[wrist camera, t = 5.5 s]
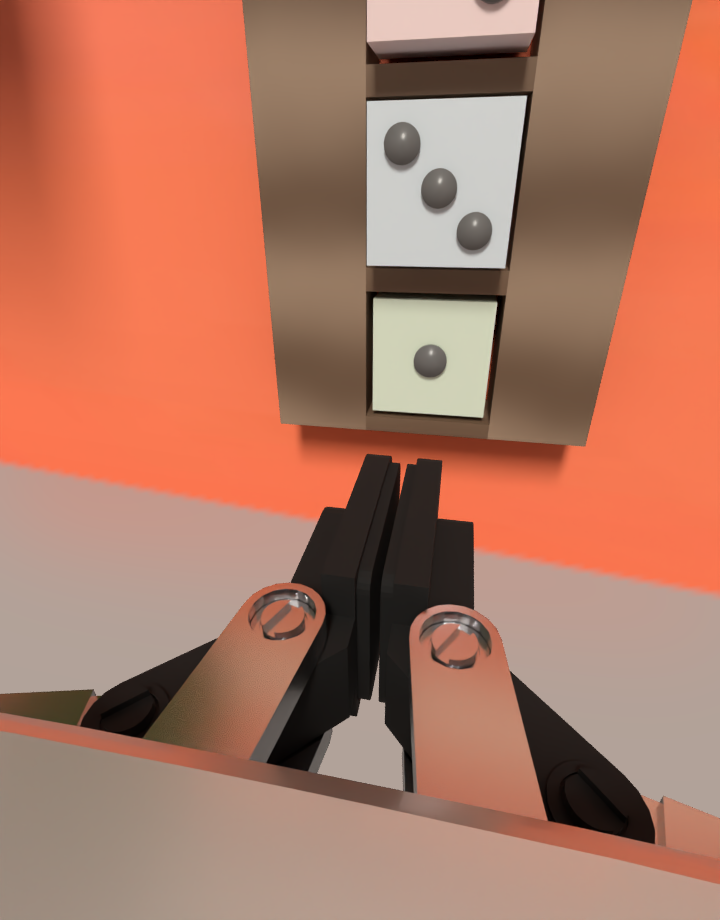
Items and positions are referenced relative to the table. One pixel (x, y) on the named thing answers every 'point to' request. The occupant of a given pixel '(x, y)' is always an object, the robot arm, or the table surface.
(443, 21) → the two dot tile
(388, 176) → the three dot tile
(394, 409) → the cream knobbed tile
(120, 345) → the table surface
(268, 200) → the counting board
